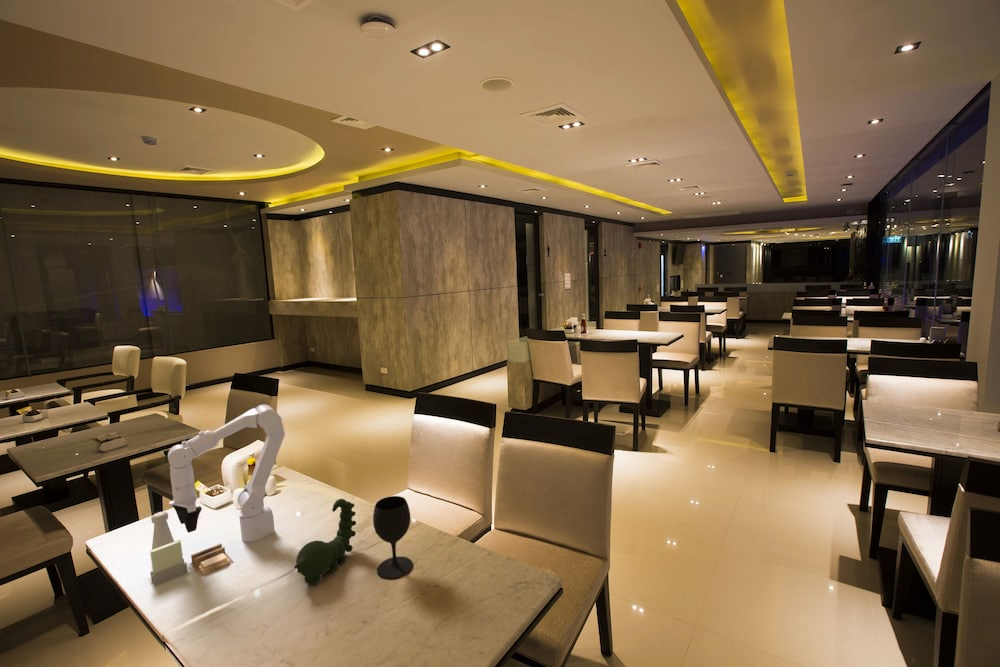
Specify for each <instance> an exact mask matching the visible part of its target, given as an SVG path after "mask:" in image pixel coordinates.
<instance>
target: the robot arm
mask: <svg viewBox="0 0 1000 667" xmlns="http://www.w3.org/2000/svg"><path fill="white" fill-rule="evenodd" d="M258 426H259V427H260V428H262V429H263V431H264V432H265V433H266V438H265V441H264V443H263V446H262V449H261V451H260V454H259V457H258V459H257V461H256V464H255V465H254V466H255V467H254V468H253V472H252V475H251V477H250V480H249V481H248V482H247V483H246V484H245V487H244V489H243V490H242V491H241V492H240V493H239V495H238V497H237V502H238V505H239V506H240V511H239V513H238V515H239V516H238V517H239V525H240V533H241V534H240V535H241V541H242V542H243V543H253V542H256V541H259V540H261V539H263V538H265V537H267V536H269V535H272V534H274V533H275V532H276V531H275V520H274V513H273V510H272V508H271V507H270V506H265V503H264V498H265V496H266V485H267V483H268V481H269V478H270V475H271V472H272V470H273V466H274V464H275V462H276V459H277V457H278V454H279V451H280V448H281V447H282V443H283V441H284V438H285V436H286V434H285V428H284V425H283V420H282V416H280V414H279V413H278V412H277V411H276V410H274V408H273V407H272V406H271V405H268V404H265V403H264V404H263V403H262V404H259V405H258V406H256V407H254V408H251V409H249V410H247V411H245V412H244V413H242V414H241V415H238V416H237V417H236V418H234V419H232V420H231V421H228V422H227V423H225V424H223V425H222V426H220V427H219V428H217V429H215V430H208V429H207V430H205V431H203V430H201V431H199V432H198V435H195V436H194V437H192V438H190V439H188V440H183V441H182V442H181V444H176V445H173V446H172V447H171V448H170V449H169V450H168V453H167V458H168V463H169V465H170V466H169V470H170V472H169V474H170V483H171V484H170V485H171V489H172V500H171V501H169V502H168V505H169V506H170V507H173V509H174V510H175V512H176V515H177V518H178V521H179V522H180V524H181V525H183V524H184V526H185V528H186V529H185V530H186V531H187V533H188V534H189V533H191V532H195V531H196V530H197V526H198V520H199V517H200V514H201V511H202V506H200V505H199V506H197V505H196V503H197V499H198V494H197V490H196V482H195V475H194V474H195V473H194V468H193V466H192V461H193V459H195V458H198V457H199V456H201V455H203V454H205V453H207V452H208V451H210V450H212V449H214V448H216V447H218V444H219V442H220V441H221V440H222V439H225V438H226V437H229V436H230V435H233V434H235V433H236V432H239V431H241V430H243V429H245V428H252V429H257V428H258Z"/></svg>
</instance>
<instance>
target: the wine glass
mask: <svg viewBox="0 0 1000 667" xmlns="http://www.w3.org/2000/svg"><path fill="white" fill-rule="evenodd" d="M372 520H373V521H372V522H373V528H374V532H375V534H376V535H377V536H378V537H379V538H380V539H381V540H383V541H384V542H385V543H388V544H390V545H391V553H392V557H389V558H387V559H384V560H383V561H382V562H381V563H379V564H378V566H377V568H376V574H377V575H378V576H379V577H380V578H381V579H383V580H396V579H397V580H398V579H401V578H403V577H405V576H407V575H408V574H409V573H411V571H412V570H413V568H414V564H413V560H412V559H410V558H409V557H406V556H399V555H398V556H397V550H396V549H397V546H396V545H397V543H398V542H400V541H401V540H402V539H403V538H404V536H405V535H407V532H408V531H409V528H410V524H411V511H410V507H409V504H408V501H407V500H406V498H405V497H403V496H399V495H391V496H386V497H384V498H380V499H379V500H377V502H376V503H375V505H374V510H373V515H372Z"/></svg>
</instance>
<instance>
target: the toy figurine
mask: <svg viewBox="0 0 1000 667" xmlns="http://www.w3.org/2000/svg"><path fill="white" fill-rule="evenodd" d="M354 507H355V504H354V502H353V503H352V502H351V501H347V500H346V499H344V498H339V499H337V500H335V502H334V503H333V506H332V512H334V513H335V512H336V510H337V509H338V508H340V513H339V519H340V520H339V521H338V530H337V531H336V535H335V537H334V538H333V540H329V541H328V542H325V541H322V540H313V541H310V542H308V543H305V545H303V546H302V548H301V549H300V550H299V552H298V554H297V557H296V561H295V563H296V564H295V565H294V569H297V574H300V575H301V576H302V577H304V583H306V584H307V585H309V586H315V585H317V584H318V583H319V582H320V580H321V576H323V575H324V574H325V573H326V572H327V571H332V572H334V571H335V572H336V570H338V568H339V563H340V564H344V563H345V562H346V560H347V557H346V555H345V554H346V552H347V553H351V552H352V551H353V548H354V547H353V545H351V544H350V542H351V541H350V539H351V538H352V537H355V536H356V535H357V534H356V530H353V529H352V527H353V526H356V525H357V521H356V520H353V517H354V516H356V511H355V510H353V508H354Z"/></svg>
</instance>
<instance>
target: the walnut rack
mask: <svg viewBox="0 0 1000 667" xmlns="http://www.w3.org/2000/svg"><path fill="white" fill-rule="evenodd" d="M222 553H224V554H225V555H226V557H227V558H228V559H229V560H230V563H229V564H227V565H225V566H222V567H220V568H218V569H215V570H213V571H211V572H208V573H206V574H202V572H201V571H200V570H199V566H200V565H201V562H202V561H205V560H207V559H210V558H212V557H215V556H217V555H219V554H222ZM190 558H191V559H190V560H191V562H190V563H189V564H190V566H191V567H192V569H193V570H194V571H195V573H196V574H197V575H198V577H199V578H201V577H203V576H206V575H208V574H210V573H213V572H215V571H217V570H220V569H222V568H225V567H227V566H229V565H232V564H234V563H235V561H233V559H232V558H231V557H230V556H229V555H228V554H227V553H226V548H225V546H223V544H222V543H221V542H220V543H217V544H215V545H213V546H210V547H208V548H205V549H203V550H200V551H198V552H195V553H193V554H191V555H190Z"/></svg>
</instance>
